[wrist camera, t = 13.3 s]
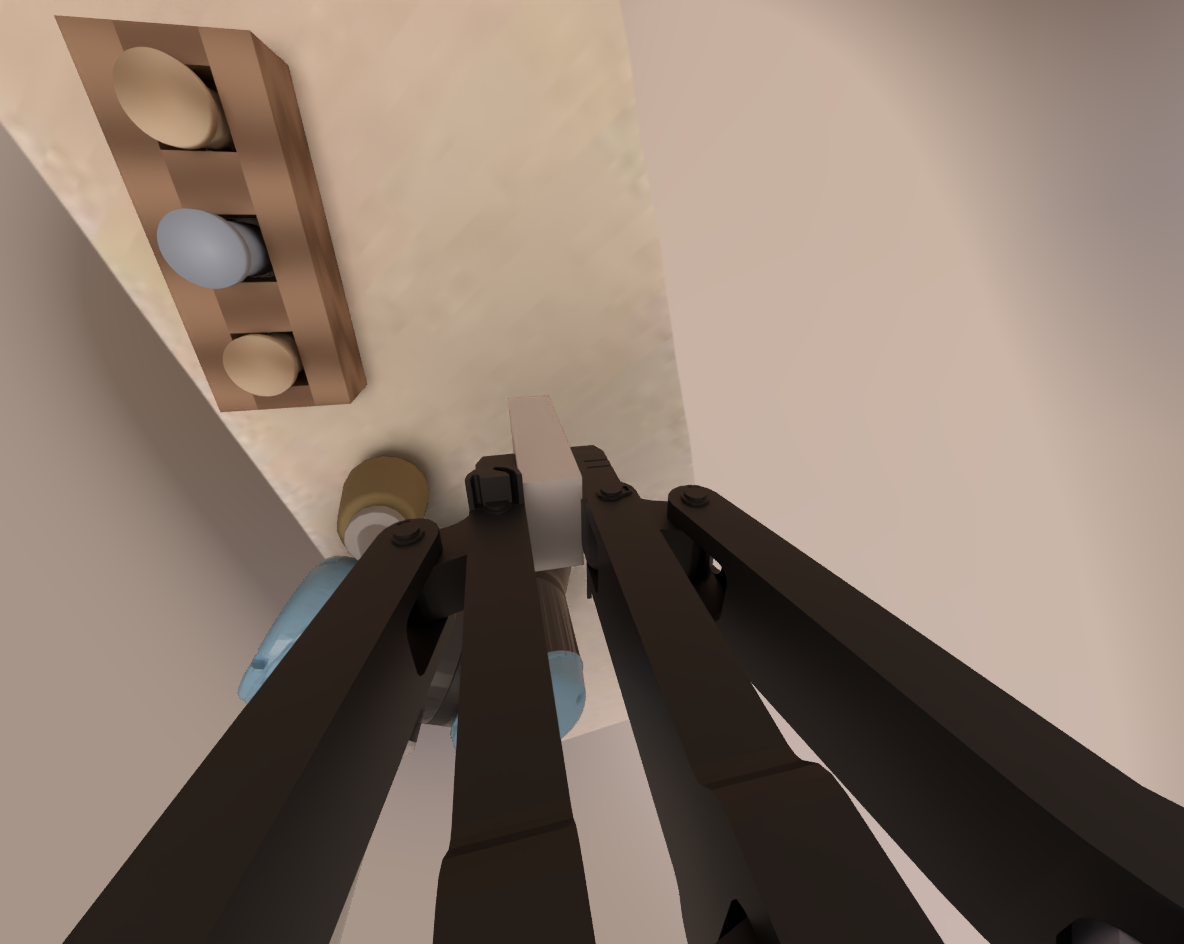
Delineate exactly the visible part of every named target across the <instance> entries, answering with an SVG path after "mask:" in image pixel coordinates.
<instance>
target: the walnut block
mask: <svg viewBox="0 0 1184 944" xmlns="http://www.w3.org/2000/svg"><path fill="white" fill-rule="evenodd" d="M54 16H55V19H56V21H57V24H58V26H59V28H60V31H61V33H62V35H63V38H64V40H65V43H66V45H67V47H68V50H69V52H70V55H71V57H72V59H73V62H74V64H75V66H76V69H77V71H78V74H79V76H80V78H81V81H82V83H83V86H84V88H85V90H86V93H87V95H88V97H89V100H90V102H91V105H92V107H93V109H94V112H95V114H96V116H97V119H98V121H99V124H100V126H101V128H102V131H103V133H104V136H105V138H106V140H107V143H108V145H109V147H110V150H111V152H112V155H113V157H114V159H115V162H116V164H117V167H118V169H119V171H120V174H121V176H122V178H123V181H124V183H125V186H126V188H127V190H128V193H129V195H130V198H131V200H132V202H133V205H134V207H135V209H136V212H137V214H138V217H139V219H140V221H141V224H142V226H143V228H144V231H145V233H146V236H147V238H148V240H149V243H150V245H151V248H152V250H153V252H154V255H155V257H156V259H157V262H158V264H159V267H160V269H161V271H162V274H163V276H164V279H165V281H166V283H167V286H168V288H169V290H170V293H171V295H172V298H173V300H174V302H175V305H176V307H177V309H178V312H179V314H180V317H181V319H182V321H183V324H184V326H185V329H186V331H187V333H188V336H189V338H190V340H191V343H192V345H193V348H194V350H195V352H196V355H197V357H198V360H199V362H200V364H201V367H202V369H203V371H204V374H205V376H206V379H207V381H208V383H209V386H210V388H211V391H212V393H213V395H214V398H215V400H216V402H217V405H218V407H219V410H220V412H231V411H246V410H261V409H276V408H292V407H307V406H322V405H337V404H351V403H352V402H353V400H354V399H355V398H356V397H357V396H358V394H359V393H360V392H361V391H362V390H363V389H364V387H365V386H366V385H367V382H366V378H365V374H364V370H363V366H362V362H361V358H360V354H359V350H358V346H357V342H356V338H355V334H354V330H353V326H352V322H351V318H350V314H349V310H348V306H347V302H346V298H345V294H344V290H343V285H342V281H341V277H340V273H339V269H338V265H337V261H336V257H335V253H334V249H333V245H332V241H331V237H330V233H329V229H328V225H327V221H326V217H325V213H324V209H323V205H322V201H321V197H320V193H319V189H318V185H317V181H316V177H315V172H314V168H313V164H312V160H311V156H310V152H309V148H308V144H307V140H306V136H305V132H304V128H303V124H302V120H301V116H300V112H299V108H298V104H297V100H296V96H295V92H294V88H293V84H292V80H291V76H290V72H289V68H288V65H287V64H286V63H285V62H284V61H283V60H282V59H281V58H279V57H278V56H277V55H276V54H275V53H274V52H273V51H272V50H271V49H269V48H268V47H267V46H266V45H265V44H264V43H263V42H262V41H261V40H260V39H258V38H257V37H256V36H255V35H254V34H253V33H252V32H251V31H248V30H235V29H223V28H210V27H197V26H184V25H172V24H159V23H146V22H133V21H120V20H108V19H95V18H82V17H69V16H56V15H54ZM134 47H148V48H153V49H156V50H159V51H161V52H164V53H166V54H168V55H169V56H171V57H173V58H174V59H176V60H178V61H180V62H181V63H183V64H184V65H186V66H187V67H188V68H189V69H191V70H192V71H193V72H194V73H195V74H196V75H197V76H198V77H199V78H200V79H201V80H202V82H203V83H204V84H205V86H206V87H208V88H209V89H211V90H213V91H215V92H218V93H219V97H220V100H221V103H222V106H223V109H224V113H225V116H226V119H227V122H228V126H229V129H230V132H231V135H232V138H233V142H234V145H235V148H236V151H237V152H213V151H206V149H205V148H204V147H201V148H198V149H182V148H177V147H174V146H171V145H168V144H165V143H162V142H160V141H158V140H156V139H154V138H152V137H151V136H149V135H148V134H146V133H145V132H143V131H142V130H141V129H140V128H139V127H138V126H137V125H136V124H135V123H134V122H133V121H132V120H131V119H130V118H129V116H128V115H127V114H126V112H125V111H124V110H123V108H122V106H121V104H120V102H119V100H118V98H117V96H116V93H115V90H114V85H113V68H114V64H115V62H116V60H117V58H118V57H119V56H120V55H121V54H122V53H123V52H124V51H126V50H128V49H131V48H134ZM186 208H187V209H197V210H204V211H208V212H211V213H214V214H216V215H218V216H220V217H222V218H223V219H225V220H226V221H230V220H229V218H255V219H258V222H259V225H260V228H261V232H262V235H263V238H264V241H265V245H266V248H267V251H268V254H269V257H270V261H271V264H272V267H273V270H274V274H275V277H262V278H249V276H247V277H246V278H245V279H244V280H243V281H242V282H241V283H239V284H237V285H235V286H231V287H226V288H220V289H210V288H205V287H201V286H198V285H195V284H193V283H191V282H189V281H187V280H186V279H184V278H183V277H181V276H180V275H179V274H177V273H176V272H175V271H174V270H173V269H172V268H171V267H170V266H169V264H168V263H167V262H166V260H165V259H164V257H163V255H162V253H161V251H160V249H159V246H158V241H157V229H158V225H159V223H160V221H161V220H162V218H163V217H164V216H165V215H166V214H168V213H169V212H171V211H174V210H177V209H186ZM287 331H293V335H294V338H295V341H296V344H297V348H298V351H299V354H300V357H301V360H302V364H303V367H304V369H303V370H302V371H300V372H299V373H298V376H297V379H296V381H295V383H294V384H293V385H292V386H291V387H290V388H288V389H287V390H286V391H284V392H283V393H281V394H278V395H275V396H259V395H255V394H251V393H249V392H247V391H245V390H243V389H242V388H240V387H239V386H237V385H236V384H235V383H234V382H233V381H232V380H231V379H230V377H229V376H228V374H227V373H226V371H225V368H224V365H223V353H224V350H225V348H226V346H227V345H228V344H229V343H230V342H231V341H233V340H235V339H237V338H240V337H242V336H245V335H249V334H262V335H267V334H268V333H267V332H287Z"/></svg>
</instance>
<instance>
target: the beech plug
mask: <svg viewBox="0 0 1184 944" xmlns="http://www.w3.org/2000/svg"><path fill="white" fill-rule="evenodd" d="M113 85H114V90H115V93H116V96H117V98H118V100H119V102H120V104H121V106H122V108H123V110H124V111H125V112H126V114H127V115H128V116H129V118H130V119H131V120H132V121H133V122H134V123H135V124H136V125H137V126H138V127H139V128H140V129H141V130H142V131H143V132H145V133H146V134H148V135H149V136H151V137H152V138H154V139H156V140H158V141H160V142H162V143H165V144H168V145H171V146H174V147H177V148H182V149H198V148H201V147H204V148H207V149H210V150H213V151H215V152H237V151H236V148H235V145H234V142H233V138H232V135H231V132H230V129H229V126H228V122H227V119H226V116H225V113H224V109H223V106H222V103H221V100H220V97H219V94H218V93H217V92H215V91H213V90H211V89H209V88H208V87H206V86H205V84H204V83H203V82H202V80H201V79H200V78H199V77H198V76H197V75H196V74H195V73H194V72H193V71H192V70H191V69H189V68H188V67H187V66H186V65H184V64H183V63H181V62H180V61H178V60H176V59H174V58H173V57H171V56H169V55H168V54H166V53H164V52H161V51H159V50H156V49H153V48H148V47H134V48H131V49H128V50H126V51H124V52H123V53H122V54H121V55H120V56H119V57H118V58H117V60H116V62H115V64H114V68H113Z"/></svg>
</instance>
